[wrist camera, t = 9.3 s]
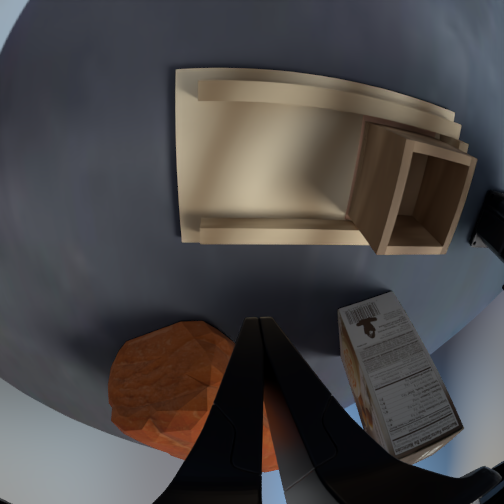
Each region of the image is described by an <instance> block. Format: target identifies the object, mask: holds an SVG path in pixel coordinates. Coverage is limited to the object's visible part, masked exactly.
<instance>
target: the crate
mask: <svg viewBox="0 0 504 504" xmlns="http://www.w3.org/2000/svg"><path fill="white" fill-rule="evenodd" d="M476 162H477V159H476V158H475V157H473V156H471V155H469V154H467V153H465V152H463V151H461V150H459V149H457V148H455V147H453V146H451V145H449V144H447V143H445V142H443V141H441V140H438V139H436V138H434V137H431V136H428V135H424V134H420V133H416V132H413V131H409V130H405V129H400V128H396V127H392V126H387V125H383V124H378V123H373V122H368V121H365V127H364V134H363V140H362V146H361V152H360V158H359V163H358V169H357V174H356V179H355V184H354V189H353V194H352V199H351V204H350V208H349V213H348V216H349V217H350V219H351V220H352V221H353V223H354V224H355V226H356V227H357V228H358V230H359V231H360V232H361V234H362V235H363V236H364V238H365V239H366V241H367V242H368V243H369V245H370V246H371V248H372V249H373V250H374V252H375V253H376V255H402V254H446V252H447V249H448V247H449V245H450V242H451V240H452V237H453V235H454V232H455V229H456V227H457V224H458V221H459V218H460V216H461V213H462V210H463V207H464V204H465V201H466V198H467V194H468V191H469V188H470V185H471V181H472V178H473V174H474V170H475V166H476Z"/></svg>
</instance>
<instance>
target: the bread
mask: <svg viewBox="0 0 504 504" xmlns="http://www.w3.org/2000/svg"><path fill="white" fill-rule="evenodd" d="M234 346H235V343H234V342H233V341H232V340H230V339H229V338H228V337H226V336H225V335H224V334H223V333H221V332H220V331H219V330H217V329H216V328H214V327H212V326H211V325H209V324H207V323H206V322H204V321H184V322H178V323H176V324H173V325H170V326H168V327H165V328H162V329H159V330H157V331H154V332H151V333H148V334H146V335H143V336H140V337H137V338H134V339H132V340H129V341H126V343H125V344H124V345H123V346H122V348H121V349H120V350H119V352H118V354H117V356H116V358H115V360H114V362H113V364H112V366H111V370H110V376H109V382H108V397H109V404H110V405H111V407H112V417H111V421H112V422H113V423H114V424H115V425H116V426H117V427H118V428H119V429H120V430H121V431H122V432H123V433H124V434H126V435H128V436H130V437H131V438H133V439H135V440H138V441H140V442H142V443H144V444H146V445H148V446H151V447H153V448H155V449H158V450H161V451H164V452H167V453H169V454H170V455H171V456H174V457H177V458H180V459H183V460H185V459H186V458H187V456H188V454H189V452H190V451H191V449H192V447H193V446H194V444H195V442H196V440H197V438H198V436H199V435H200V433H201V431H202V429H203V426H204V424H205V422H206V419H207V417H208V415H209V412H210V410H211V407H212V405H213V402H214V400H215V397H216V394H217V392H218V389H219V386H220V384H221V381H222V378H223V376H224V373H225V371H226V368H227V365H228V362H229V360H230V357H231V354H232V352H233V349H234ZM278 469H279V468H278V464H277V459H276V455H275V450H274V446H273V441H272V437H271V432H270V428H269V423H268V419H267V414H266V409H265V405H264V401H263V448H262V472H269V471H274V470H278Z"/></svg>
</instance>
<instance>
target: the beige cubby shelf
mask: <svg viewBox="0 0 504 504" xmlns="http://www.w3.org/2000/svg"><path fill="white" fill-rule="evenodd" d="M175 115H176V157H177V179H178V196H179V211H180V224H181V236H182V242H200V244H308V245H369V243H368V242H367V241H366V239H365V238H364V236H363V235H362V234H361V232H360V231H359V230H358V228H357V227H356V226H355V224H354V223H353V221H352V220H351V219H350V217H349V216H348V213H349V208H350V204H351V199H352V194H353V189H354V184H355V179H356V174H357V169H358V163H359V158H360V152H361V146H362V140H363V134H364V127H365V121H368V122H373V123H378V124H383V125H387V126H392V127H396V128H400V129H405V130H409V131H413V132H416V133H420V134H424V135H428V136H431V137H434V138H436V139H438V140H441V141H443V142H445V143H447V144H449V145H451V146H453V147H455V148H457V149H459V150H461V151H463V152H465V153H467V150H468V146H469V144H467V143H465V142H463V141H460V140H459V136H460V131H461V125H460V124H458V123H455V122H454V116H455V112H452V111H450V110H447V109H444V108H442V107H439V106H436V105H434V104H431V103H428V102H425V101H422V100H419V99H416V98H413V97H410V96H407V95H403V94H400V93H396V92H393V91H389V90H386V89H382V88H378V87H374V86H370V85H366V84H361V83H357V82H352V81H347V80H342V79H337V78H331V77H325V76H319V75H312V74H305V73H297V72H288V71H277V70H265V69H247V68H192V69H176V88H175Z"/></svg>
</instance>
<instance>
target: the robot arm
mask: <svg viewBox="0 0 504 504" xmlns="http://www.w3.org/2000/svg"><path fill="white" fill-rule="evenodd" d="M469 244H470V245H471V246H472V247H481V248H489V249H490V250H491V251H492V252H493V253H494V254H495V255H496V256H497V257H498V258H499V259H500V260H501V261H502V262H503V263H504V193H502V192H498V191H494V190H489V191H488V193H487V196H486V199H485V202H484V205H483V208H482V211H481V214H480V216H479V219H478V222H477V225H476V227H475V230H474V232H473V235H472V237H471V240H470V243H469ZM502 288H503V290H504V285H503V286H502ZM263 401H264V405H265V409H266V414H267V419H268V423H269V428H270V432H271V437H272V441H273V446H274V450H275V455H276V459H277V464H278V468H279V472H280V476H281V481H282V485H283V490H284V491H285V492H284V494H285V499H286V503H287V504H504V461H503V462H501V463H499V464H498V465H496V466H495V467H493V468H492V469H490V468H488V467H486V466H482V467H480V468H478V469H476V470H474V471H472V472H470V473H468V474H466V475H464V476H462V477H460V478H453V477H449V476H445V475H442V474H438V473H435V472H432V471H428V470H425V469H422V468H419V467H416V466H413V465H410V464H408V463H405V462H402V461H400V460H398V459H397V458H395V457H394V456H392V455H391V454H389V453H388V452H387V451H386V450H385V449H384V448H383V447H382V446H381V445H379V444H378V443H377V442H376V441H375V440H374V439H373V438H372V437H371V436H370V435H369V434H368V433H367V432H365V431H364V430H363V429H362V428H361V427H360V426H359V425H358V424H357V423H356V422H355V421H354V420H353V419H352V418H351V417H350V416H349V414H348V413H347V412H346V411H345V410H344V409H343V407H342V406H341V405H340V404H339V403H338V401H337V400H336V399H335V398H334V396H331V393H330V391H329V390H328V389H327V388H326V386H325V385H324V384H323V383H322V381H321V380H320V379H319V377H318V376H317V375H316V374H315V372H314V371H313V370H312V369H311V367H310V366H309V365H308V363H307V362H306V361H305V360H304V358H303V357H302V356H301V354H300V353H299V352H298V351H297V349H296V348H295V347H294V345H293V344H292V343H291V341H290V340H289V339H288V338H287V336H286V335H285V334H284V332H283V331H282V330H281V328H280V327H279V326H278V324H277V323H276V322H275V321H274V319H273V318H272V317H260V318H259V319H258V318H257V317H246V318H245V319H244V322H243V325H242V327H241V330H240V333H239V336H238V338H237V341H236V344H235V346H234V349H233V352H232V354H231V357H230V360H229V362H228V365H227V368H226V371H225V373H224V376H223V378H222V381H221V384H220V386H219V389H218V392H217V394H216V397H215V400H214V402H213V405H212V407H211V410H210V412H209V415H208V417H207V419H206V422H205V424H204V426H203V429H202V431H201V433H200V435H199V436H198V438H197V440H196V442H195V444H194V446H193V447H192V449H191V451H190V452H189V454H188V456H187V458H186V459H185V461H184V463H183V464H182V466H181V467H180V469H179V471H178V472H177V474H176V476H175V477H174V479H173V480H172V482H171V483H170V484H169V486H168V487H167V488H166V490H165V491H164V492H163V493H162V494H161V495H160V496H159V497H158V498H157V499H156V500H155V501H154V502H153V503H152V504H262V487H261V486H262V484H261V483H262V476H261V475H262V448H263ZM0 504H11V503H9V502H7V501H5V500H3V499H1V498H0Z"/></svg>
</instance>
